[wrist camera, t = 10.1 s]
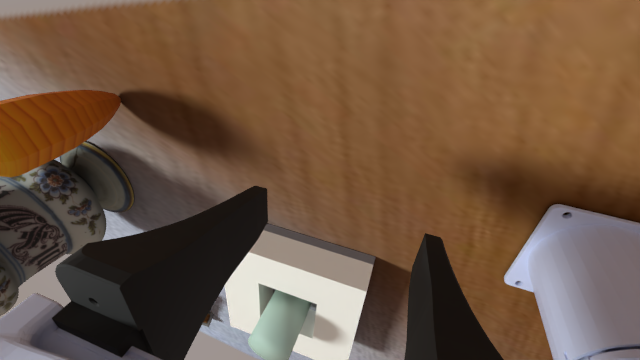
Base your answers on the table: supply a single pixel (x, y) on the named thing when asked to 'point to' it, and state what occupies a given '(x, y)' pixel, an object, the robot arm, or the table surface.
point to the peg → (279, 326)
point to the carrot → (49, 126)
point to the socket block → (303, 288)
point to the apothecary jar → (56, 213)
